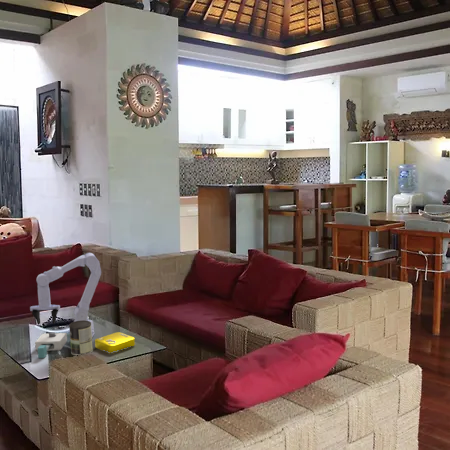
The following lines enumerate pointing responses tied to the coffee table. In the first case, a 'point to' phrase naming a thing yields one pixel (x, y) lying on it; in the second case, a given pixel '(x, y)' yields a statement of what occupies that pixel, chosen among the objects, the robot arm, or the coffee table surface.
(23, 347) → the coffee table surface
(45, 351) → the block
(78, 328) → the coffee can
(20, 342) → the coffee table surface
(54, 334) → the plunger
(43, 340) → the housing
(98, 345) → the element tile
